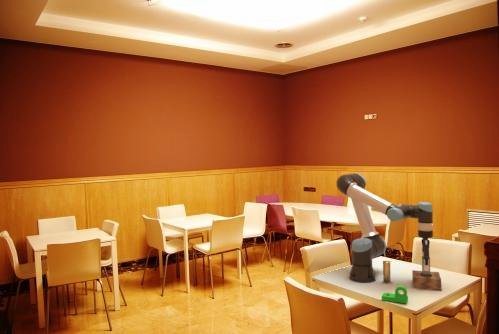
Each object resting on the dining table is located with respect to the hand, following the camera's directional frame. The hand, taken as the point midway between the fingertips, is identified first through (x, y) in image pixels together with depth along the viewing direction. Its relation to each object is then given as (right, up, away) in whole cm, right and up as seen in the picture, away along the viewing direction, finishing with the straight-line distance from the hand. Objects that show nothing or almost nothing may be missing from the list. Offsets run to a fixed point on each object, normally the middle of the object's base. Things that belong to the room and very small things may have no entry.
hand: (425, 267), depth 216 cm
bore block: (0, -10, 0) cm, 10 cm away
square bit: (0, -9, 0) cm, 9 cm away
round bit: (-19, -11, +8) cm, 23 cm away
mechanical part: (-25, -12, -19) cm, 33 cm away
